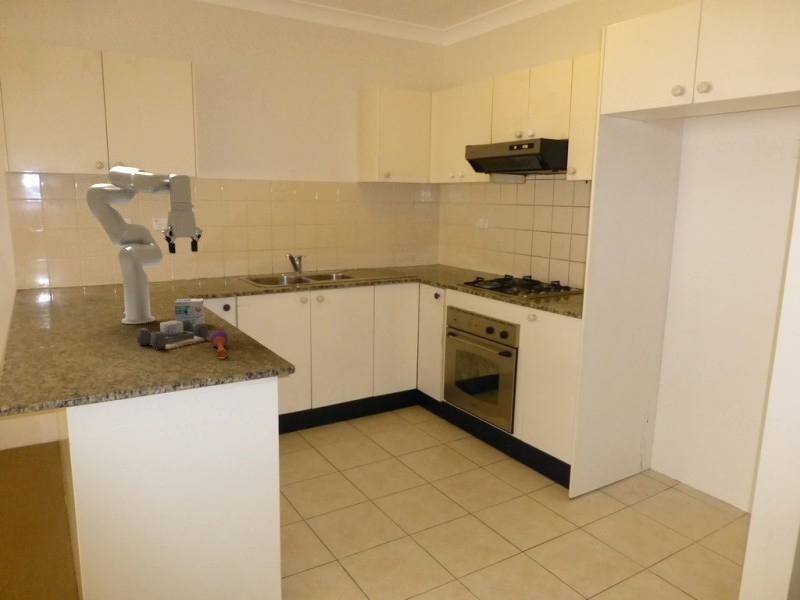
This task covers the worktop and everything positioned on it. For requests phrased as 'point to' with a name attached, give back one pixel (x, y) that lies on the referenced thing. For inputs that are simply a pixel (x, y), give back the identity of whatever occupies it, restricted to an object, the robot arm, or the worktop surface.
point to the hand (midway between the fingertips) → (183, 252)
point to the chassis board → (161, 341)
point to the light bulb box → (189, 310)
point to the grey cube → (171, 328)
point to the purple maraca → (219, 342)
